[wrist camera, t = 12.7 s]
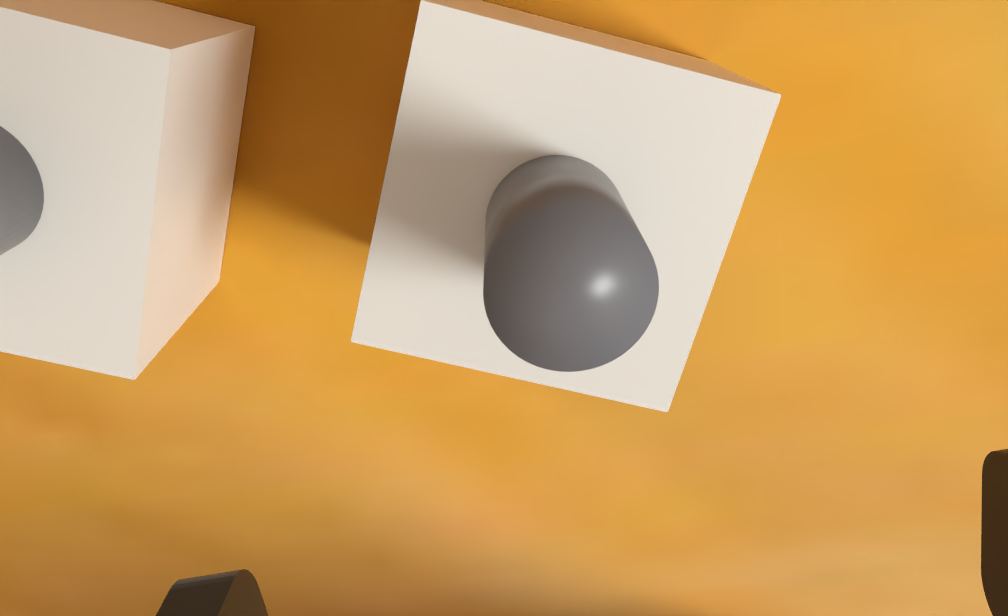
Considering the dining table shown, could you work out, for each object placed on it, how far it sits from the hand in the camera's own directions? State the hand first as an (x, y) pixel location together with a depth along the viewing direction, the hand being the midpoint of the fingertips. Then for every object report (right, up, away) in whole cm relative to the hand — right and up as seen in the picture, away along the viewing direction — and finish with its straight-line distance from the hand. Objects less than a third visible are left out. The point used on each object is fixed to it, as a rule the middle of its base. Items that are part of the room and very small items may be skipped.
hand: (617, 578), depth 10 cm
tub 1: (0, +8, +20) cm, 22 cm away
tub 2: (-15, +9, +20) cm, 26 cm away
